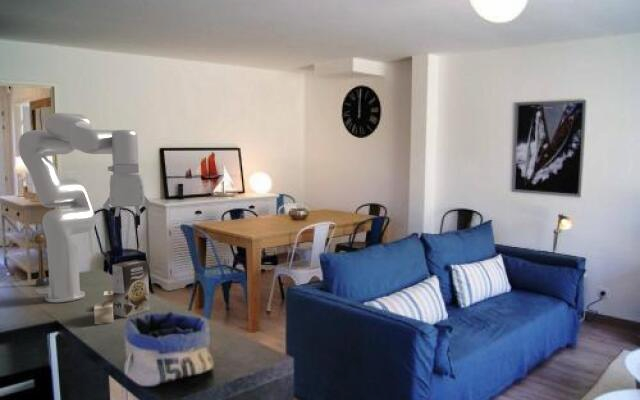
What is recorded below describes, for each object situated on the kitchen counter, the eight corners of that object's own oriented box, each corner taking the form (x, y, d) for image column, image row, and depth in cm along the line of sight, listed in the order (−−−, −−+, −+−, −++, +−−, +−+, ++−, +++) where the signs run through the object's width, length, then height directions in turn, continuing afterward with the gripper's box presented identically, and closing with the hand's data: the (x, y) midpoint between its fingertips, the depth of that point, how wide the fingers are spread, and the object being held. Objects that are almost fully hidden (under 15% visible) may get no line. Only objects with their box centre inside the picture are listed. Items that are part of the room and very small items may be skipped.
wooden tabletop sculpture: (35, 287, 199) (32, 235, 197) (30, 285, 202) (27, 234, 200) (51, 284, 203) (48, 233, 201) (46, 282, 206) (43, 232, 204)
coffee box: (126, 318, 160) (124, 266, 159) (113, 314, 164) (111, 264, 162) (150, 310, 168) (148, 261, 167) (137, 307, 172) (135, 259, 170)
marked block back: (104, 310, 169) (103, 294, 169) (105, 306, 174) (104, 290, 173) (120, 308, 171) (120, 293, 170) (121, 304, 176) (120, 289, 175)
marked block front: (94, 325, 155) (94, 308, 154) (95, 320, 159) (95, 303, 159) (113, 323, 156) (112, 306, 156) (113, 318, 161) (112, 301, 160)
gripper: (95, 170, 156) (98, 231, 157) (154, 169, 161) (157, 228, 163) (97, 170, 163) (100, 228, 164) (153, 169, 168) (156, 225, 170)
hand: (128, 227), depth 164 cm, fingers open, 4 cm apart
